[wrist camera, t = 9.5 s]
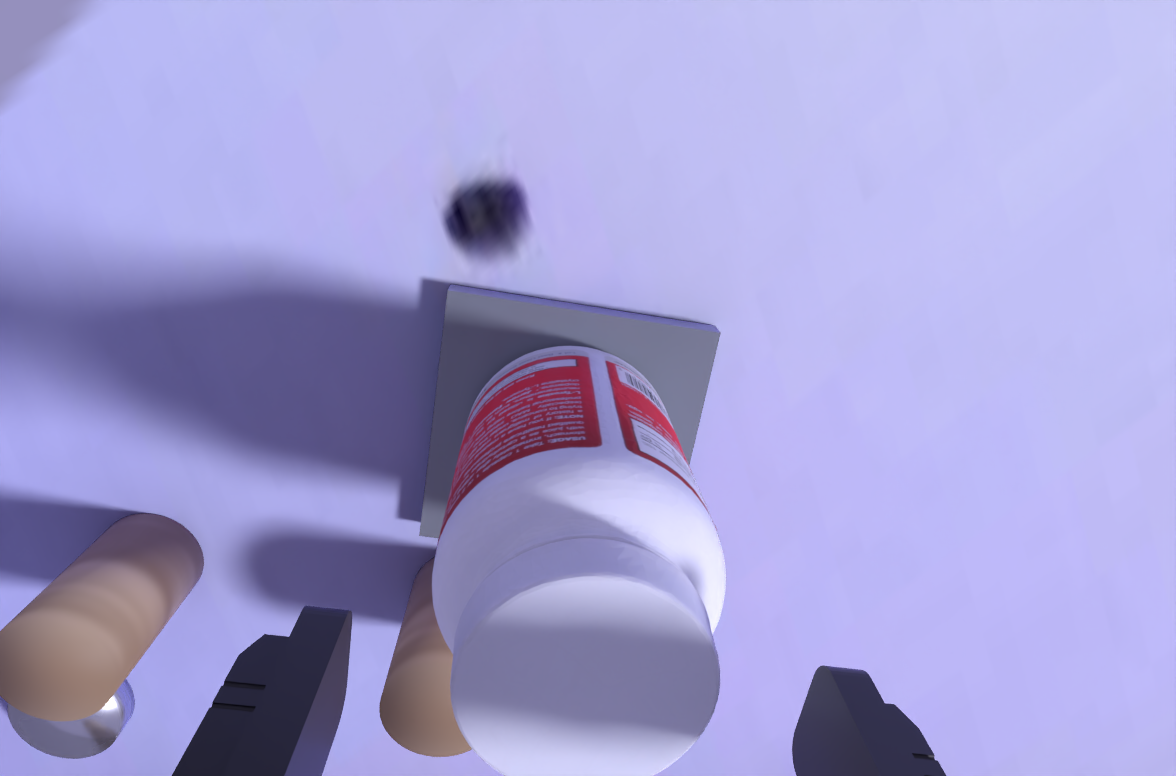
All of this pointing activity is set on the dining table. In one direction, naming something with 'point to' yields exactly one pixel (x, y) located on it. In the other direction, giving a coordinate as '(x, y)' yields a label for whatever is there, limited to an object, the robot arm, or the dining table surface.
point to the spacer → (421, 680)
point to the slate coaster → (526, 324)
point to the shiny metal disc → (77, 728)
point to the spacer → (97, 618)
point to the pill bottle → (577, 574)
